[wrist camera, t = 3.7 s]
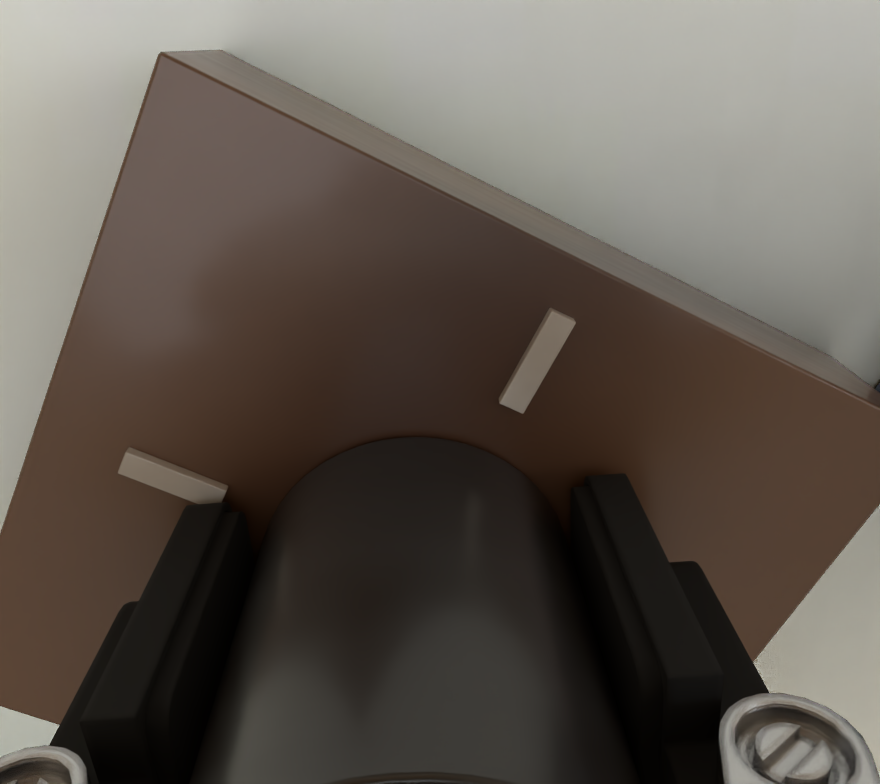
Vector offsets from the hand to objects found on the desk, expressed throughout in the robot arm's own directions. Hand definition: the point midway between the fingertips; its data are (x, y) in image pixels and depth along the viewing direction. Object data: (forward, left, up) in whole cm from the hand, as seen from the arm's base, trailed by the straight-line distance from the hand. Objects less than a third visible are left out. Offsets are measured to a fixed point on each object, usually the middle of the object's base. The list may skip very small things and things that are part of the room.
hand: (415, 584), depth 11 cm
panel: (0, 0, -3) cm, 3 cm away
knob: (0, 0, 0) cm, 0 cm away
